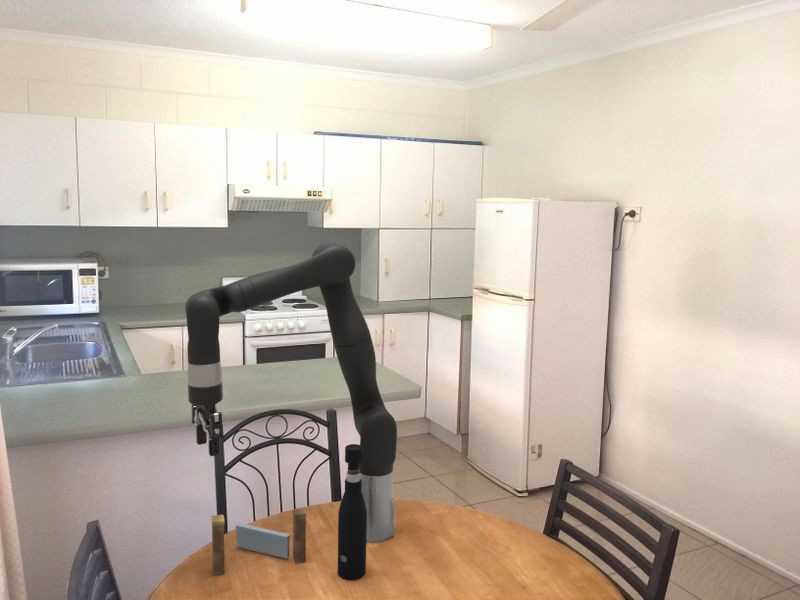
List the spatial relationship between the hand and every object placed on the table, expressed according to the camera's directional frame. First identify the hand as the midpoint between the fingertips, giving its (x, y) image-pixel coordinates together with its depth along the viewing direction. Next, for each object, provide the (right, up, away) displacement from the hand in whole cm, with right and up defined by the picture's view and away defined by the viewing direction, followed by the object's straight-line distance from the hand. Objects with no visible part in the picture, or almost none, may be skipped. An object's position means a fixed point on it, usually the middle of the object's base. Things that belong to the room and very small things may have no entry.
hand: (207, 449), depth 156 cm
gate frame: (+12, -27, 0) cm, 29 cm away
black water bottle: (+33, -28, -1) cm, 44 cm away
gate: (+11, -26, +6) cm, 29 cm away
